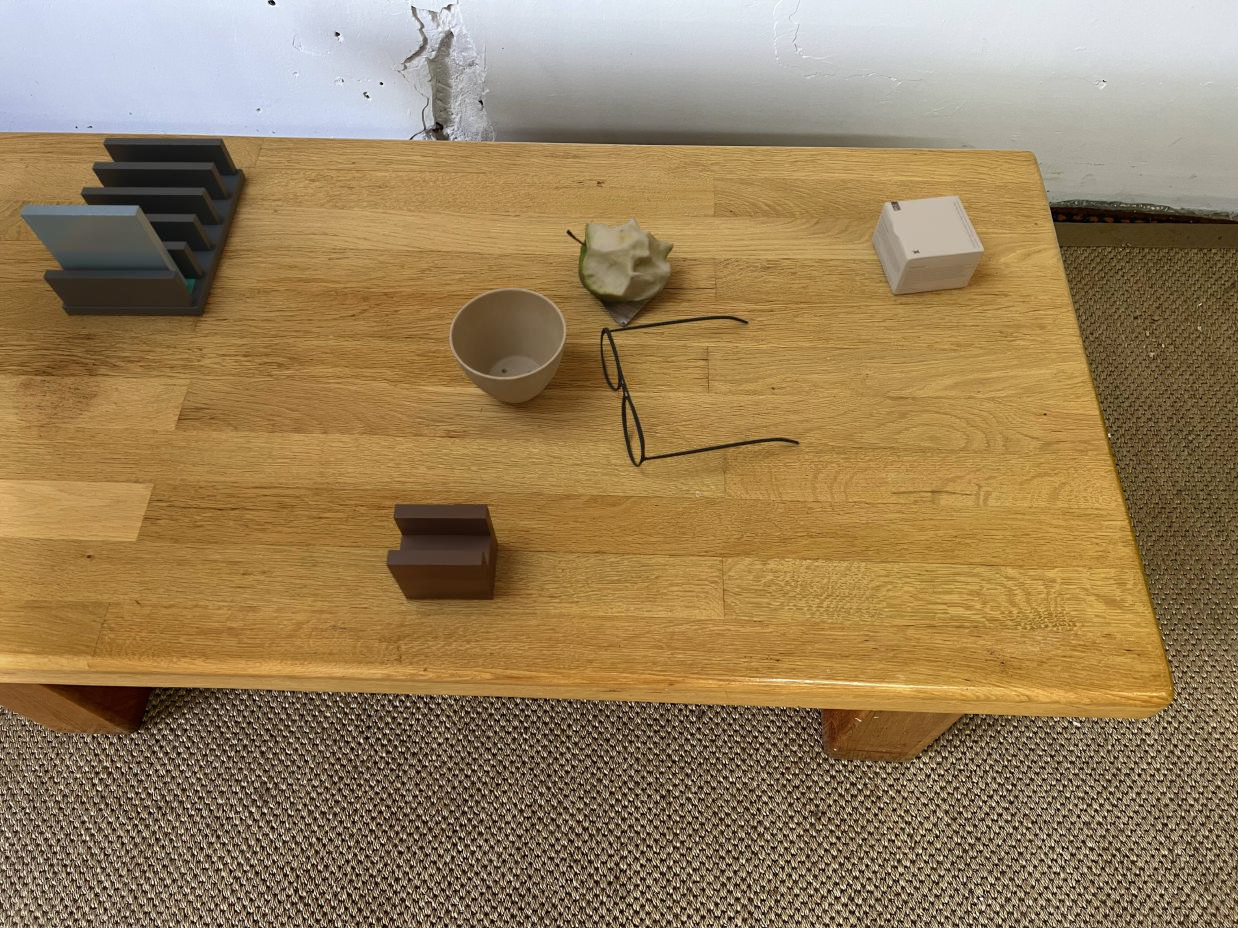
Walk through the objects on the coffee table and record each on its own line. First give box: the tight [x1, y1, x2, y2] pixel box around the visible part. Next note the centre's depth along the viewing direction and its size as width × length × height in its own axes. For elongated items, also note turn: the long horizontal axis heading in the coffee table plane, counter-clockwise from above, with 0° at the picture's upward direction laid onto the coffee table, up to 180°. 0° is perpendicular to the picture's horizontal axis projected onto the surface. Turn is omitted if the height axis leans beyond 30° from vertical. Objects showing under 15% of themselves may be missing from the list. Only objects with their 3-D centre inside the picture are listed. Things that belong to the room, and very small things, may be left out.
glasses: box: [599, 315, 800, 468], centre depth 78 cm, size 14×15×5 cm
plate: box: [19, 204, 188, 287], centre depth 79 cm, size 1×10×10 cm, turn 90°
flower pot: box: [448, 287, 567, 404], centre depth 77 cm, size 10×10×7 cm
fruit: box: [566, 217, 675, 327], centre depth 83 cm, size 9×9×8 cm
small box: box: [871, 195, 985, 295], centre depth 85 cm, size 8×8×5 cm
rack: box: [42, 137, 247, 317], centre depth 86 cm, size 19×13×5 cm
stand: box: [385, 503, 499, 601], centre depth 67 cm, size 5×7×7 cm
